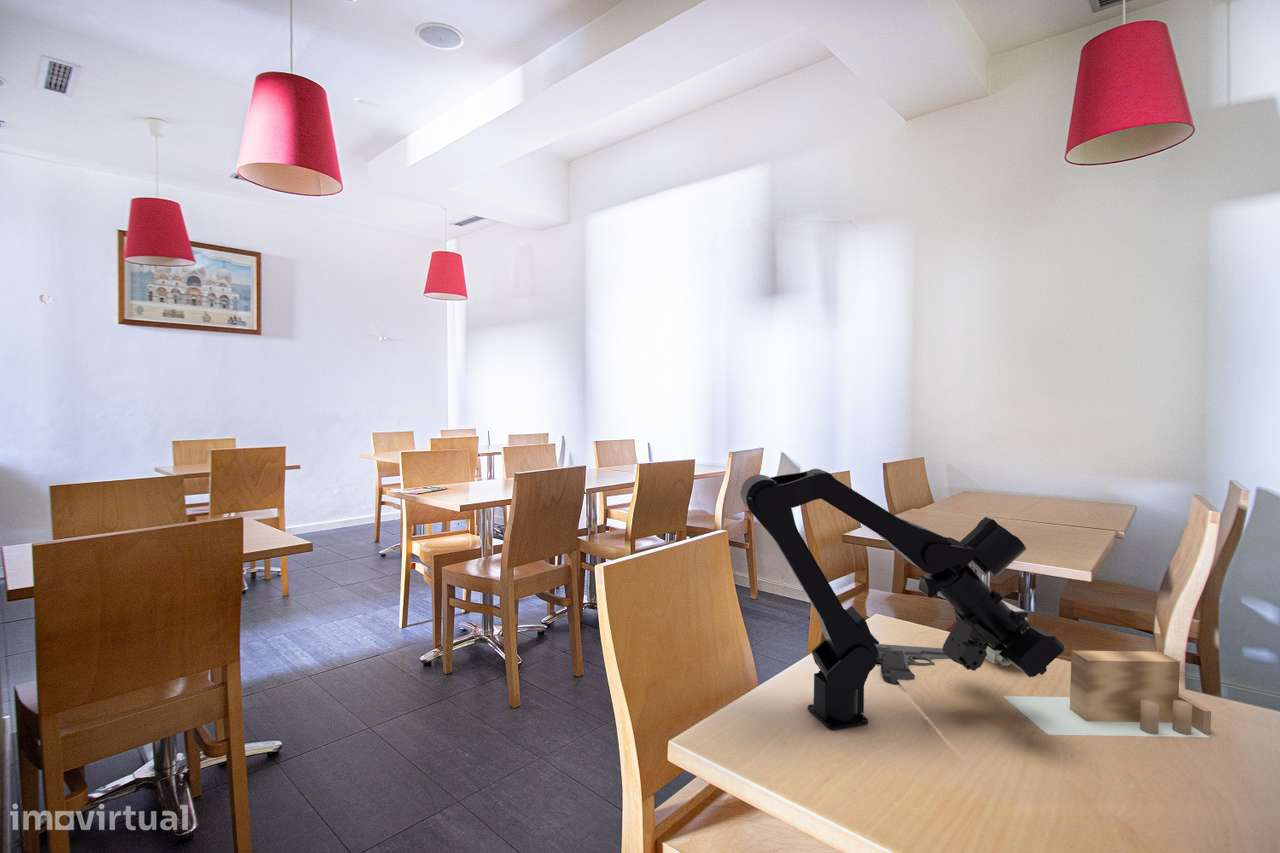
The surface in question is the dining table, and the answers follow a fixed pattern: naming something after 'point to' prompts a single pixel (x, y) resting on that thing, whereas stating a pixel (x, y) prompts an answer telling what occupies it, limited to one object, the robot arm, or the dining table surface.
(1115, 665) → the brown wooden block
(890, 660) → the handgun
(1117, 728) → the panel
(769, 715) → the dining table surface
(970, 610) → the robot arm
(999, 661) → the pneumatic valve
